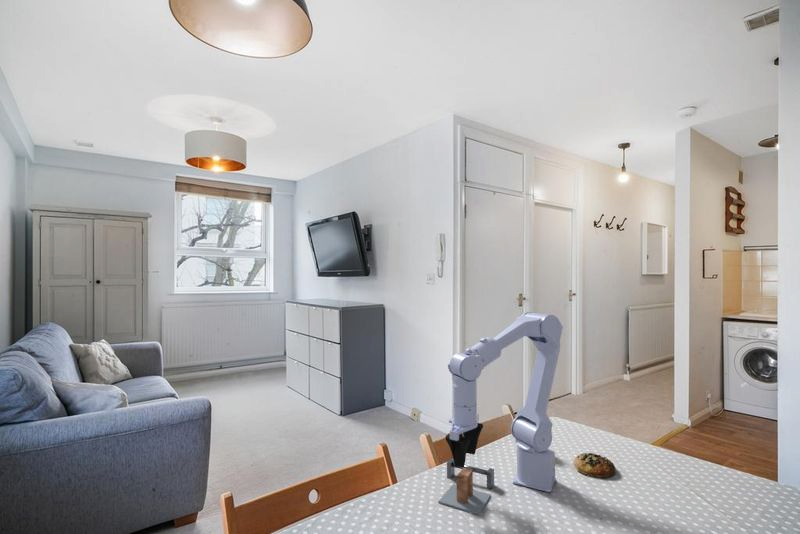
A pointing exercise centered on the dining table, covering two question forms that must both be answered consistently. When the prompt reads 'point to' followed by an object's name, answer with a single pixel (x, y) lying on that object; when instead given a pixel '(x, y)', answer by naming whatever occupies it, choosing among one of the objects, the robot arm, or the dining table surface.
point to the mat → (473, 504)
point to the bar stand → (489, 472)
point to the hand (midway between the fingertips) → (465, 459)
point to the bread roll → (594, 465)
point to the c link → (464, 485)
